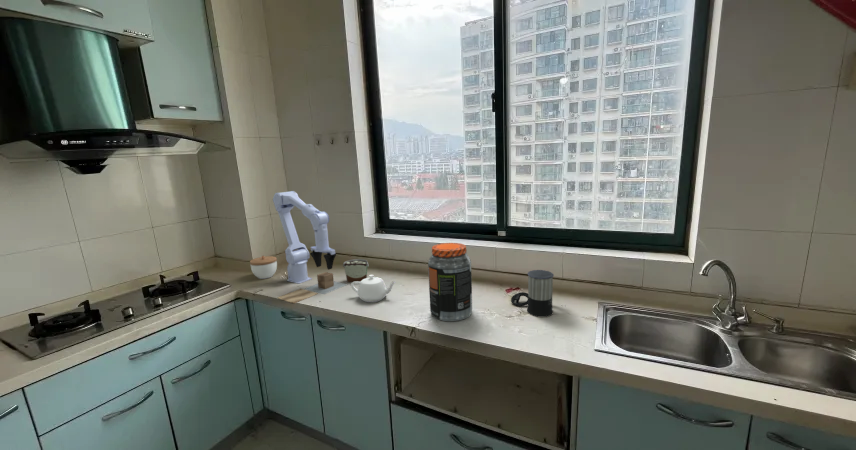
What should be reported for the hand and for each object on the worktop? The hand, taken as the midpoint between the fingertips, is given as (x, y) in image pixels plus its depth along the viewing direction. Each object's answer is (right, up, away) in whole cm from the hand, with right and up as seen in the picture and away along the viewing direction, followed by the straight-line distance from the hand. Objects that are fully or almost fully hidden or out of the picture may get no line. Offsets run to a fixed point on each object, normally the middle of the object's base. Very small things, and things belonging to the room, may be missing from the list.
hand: (324, 267), depth 167 cm
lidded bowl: (-36, -7, +21) cm, 42 cm away
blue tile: (0, -9, +2) cm, 9 cm away
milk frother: (+87, -12, -29) cm, 92 cm away
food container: (+14, -8, +9) cm, 18 cm away
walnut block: (0, -9, +2) cm, 9 cm away
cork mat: (-9, -11, -8) cm, 17 cm away
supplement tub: (+56, -14, -31) cm, 66 cm away
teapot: (+25, -12, -14) cm, 31 cm away
